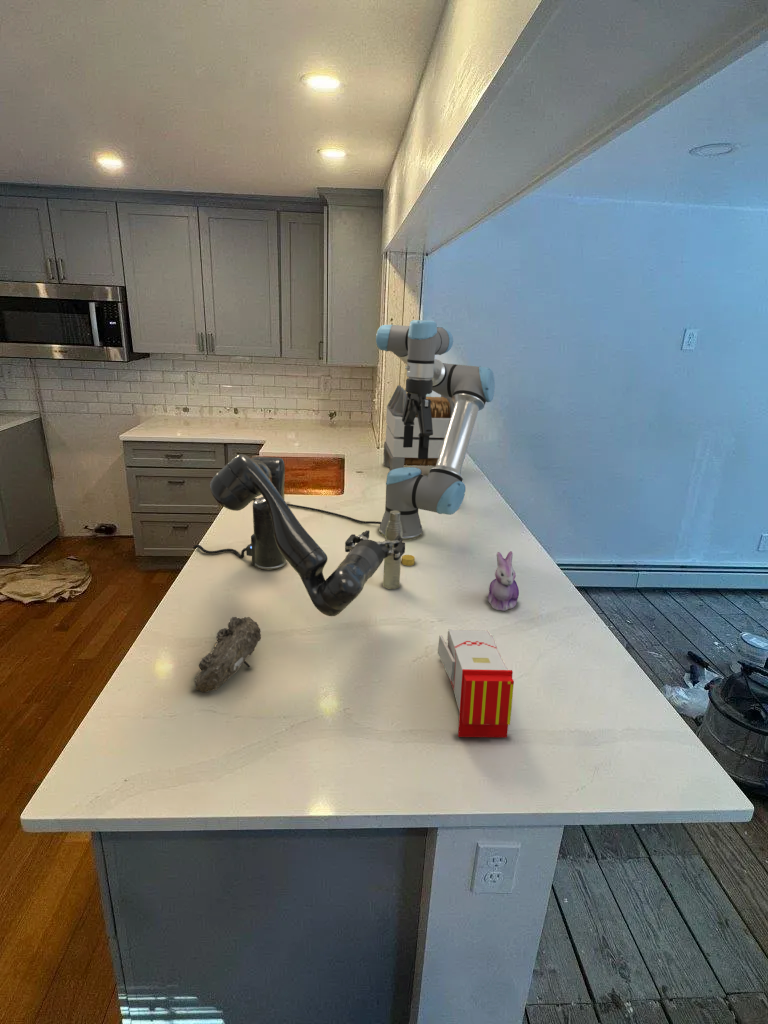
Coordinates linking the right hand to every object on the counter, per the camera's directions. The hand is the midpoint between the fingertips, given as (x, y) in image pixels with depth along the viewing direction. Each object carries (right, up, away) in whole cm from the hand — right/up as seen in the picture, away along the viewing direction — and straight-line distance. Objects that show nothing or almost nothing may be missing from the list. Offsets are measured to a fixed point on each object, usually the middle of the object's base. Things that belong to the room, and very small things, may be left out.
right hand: (414, 452), depth 165 cm
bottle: (-7, -38, -3) cm, 39 cm away
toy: (+9, -55, -47) cm, 73 cm away
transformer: (+8, +2, +110) cm, 110 cm away
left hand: (-9, -24, -19) cm, 32 cm away
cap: (-1, -32, +11) cm, 34 cm away
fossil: (-42, -51, -42) cm, 78 cm away
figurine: (+24, -42, -10) cm, 50 cm away
